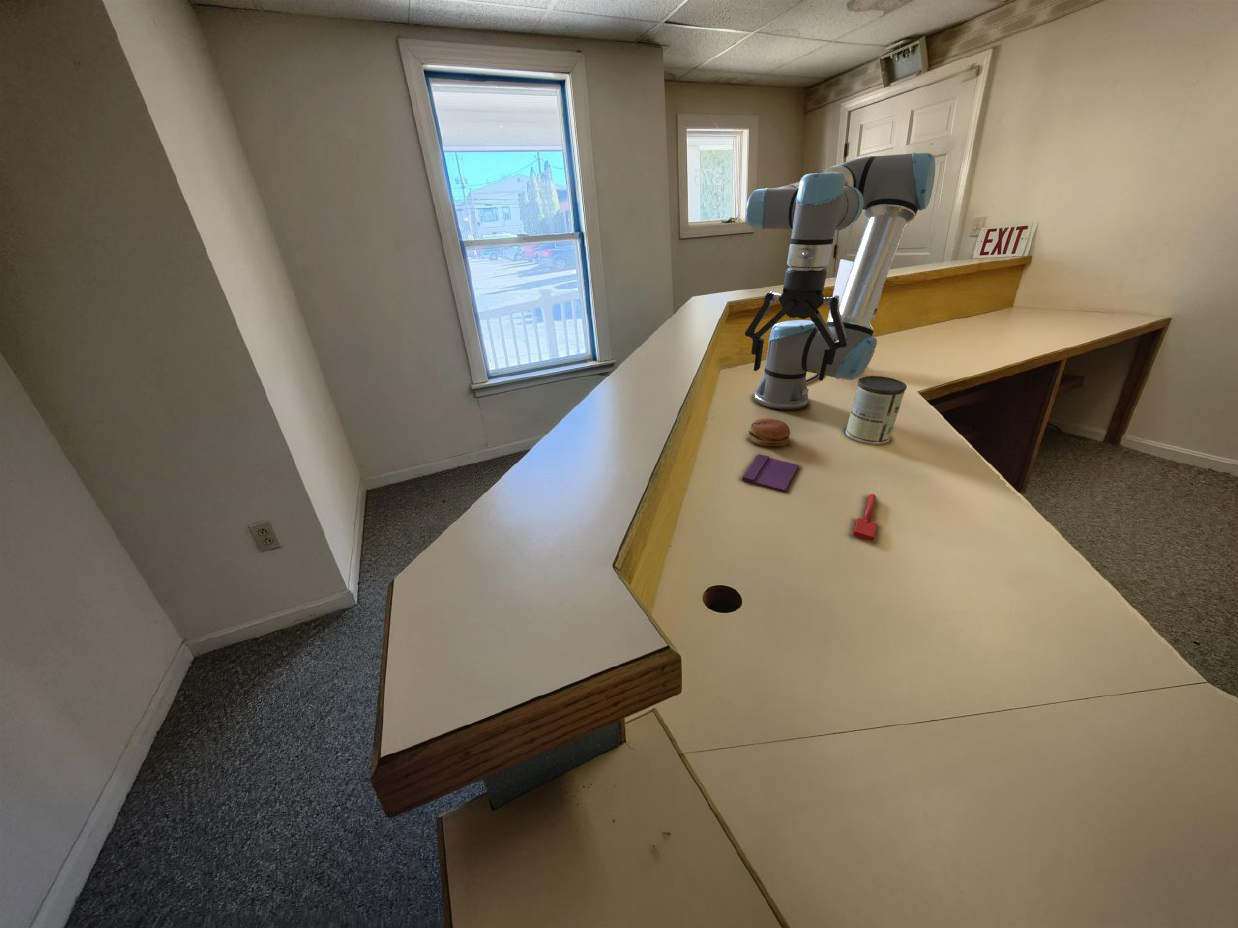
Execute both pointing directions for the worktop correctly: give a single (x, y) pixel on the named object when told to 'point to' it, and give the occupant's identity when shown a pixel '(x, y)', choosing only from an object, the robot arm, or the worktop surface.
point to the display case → (841, 282)
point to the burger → (769, 432)
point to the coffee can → (875, 409)
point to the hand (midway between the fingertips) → (788, 374)
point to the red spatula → (866, 522)
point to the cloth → (770, 473)
